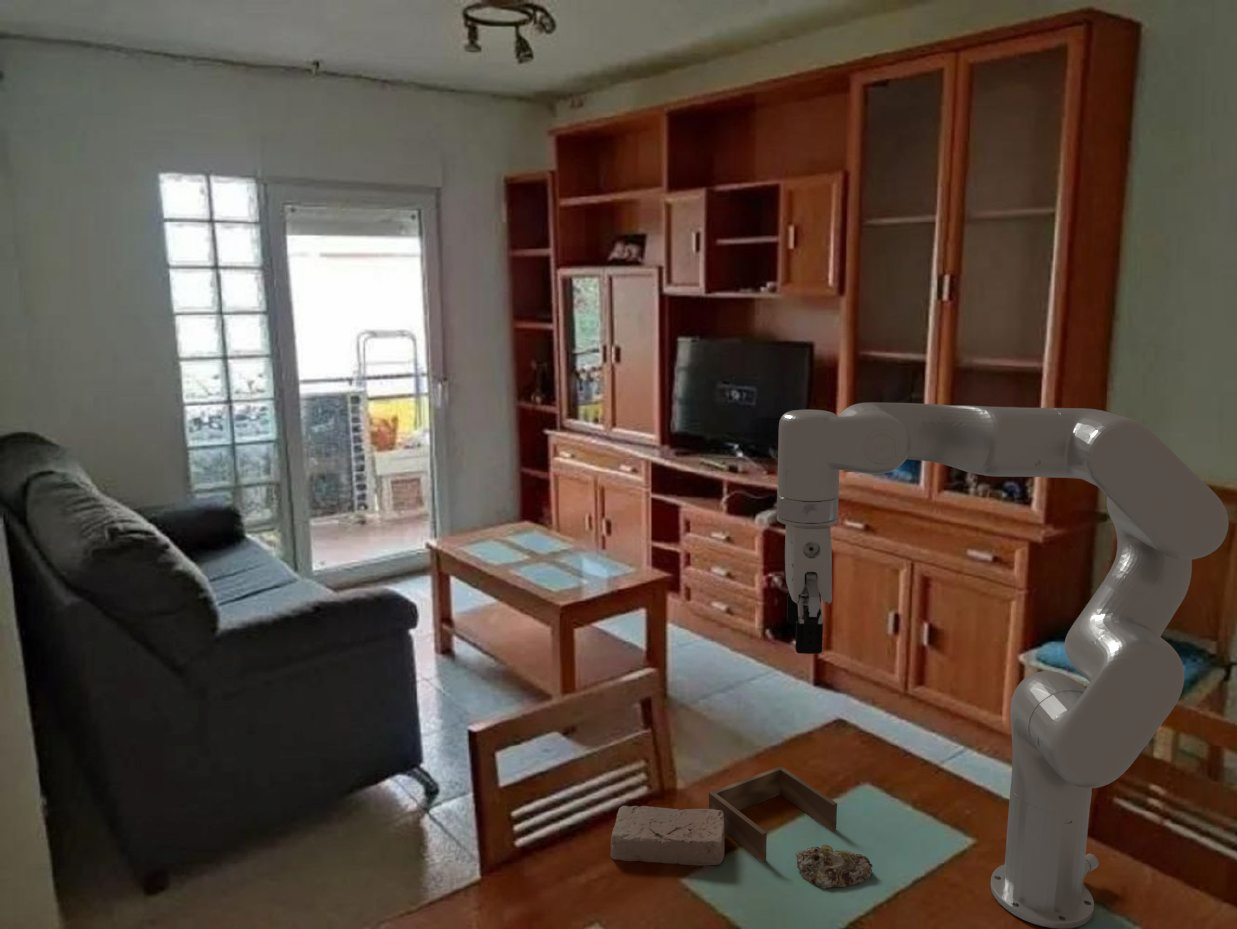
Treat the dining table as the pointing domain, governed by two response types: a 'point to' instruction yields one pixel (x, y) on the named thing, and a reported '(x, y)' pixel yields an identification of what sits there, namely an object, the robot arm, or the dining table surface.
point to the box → (764, 789)
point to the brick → (669, 835)
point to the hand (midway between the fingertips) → (803, 637)
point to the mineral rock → (833, 867)
